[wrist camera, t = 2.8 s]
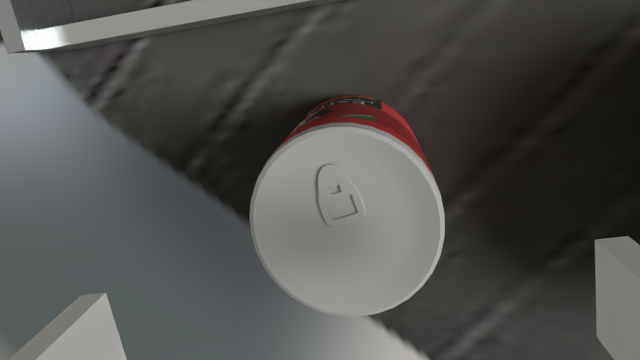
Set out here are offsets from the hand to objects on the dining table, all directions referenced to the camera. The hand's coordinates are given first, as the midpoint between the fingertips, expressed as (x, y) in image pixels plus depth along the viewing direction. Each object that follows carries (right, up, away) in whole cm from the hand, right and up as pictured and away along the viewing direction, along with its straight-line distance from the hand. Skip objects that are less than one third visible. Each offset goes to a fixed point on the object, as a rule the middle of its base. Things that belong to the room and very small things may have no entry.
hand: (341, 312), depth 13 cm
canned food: (+2, +5, +16) cm, 17 cm away
